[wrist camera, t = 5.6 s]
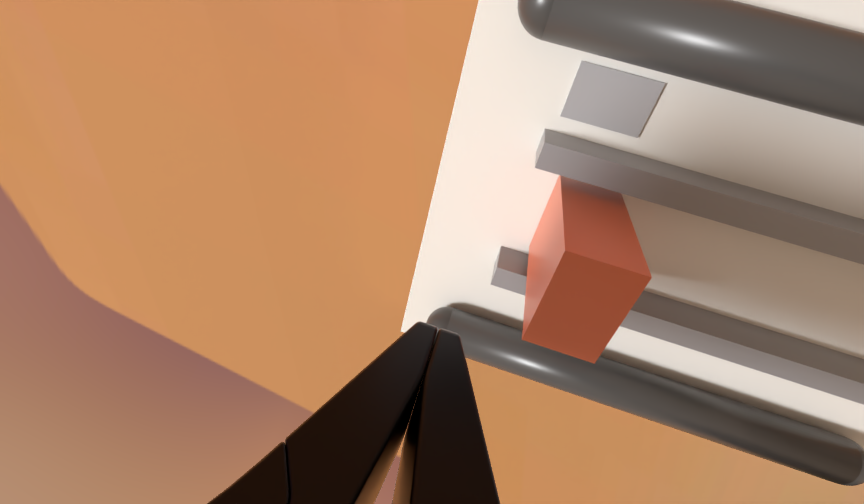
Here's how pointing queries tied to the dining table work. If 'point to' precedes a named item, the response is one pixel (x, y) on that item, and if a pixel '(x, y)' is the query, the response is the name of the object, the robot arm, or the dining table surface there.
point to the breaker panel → (672, 210)
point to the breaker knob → (582, 270)
